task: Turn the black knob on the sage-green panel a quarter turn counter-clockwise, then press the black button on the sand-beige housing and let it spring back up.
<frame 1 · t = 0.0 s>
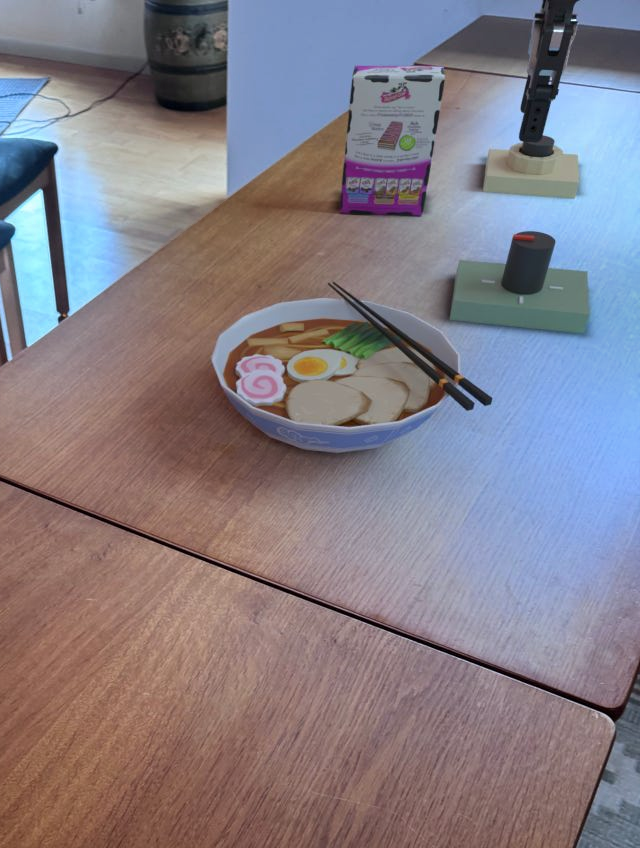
hand: (529, 126, 94), 17 cm above the table, tool pointing down, fingers open, 8 cm apart
candy bar box: (379, 209, 122), on the table
ramen bowl: (326, 426, 89), on the table
panel: (514, 311, 102), on the table
housing: (528, 181, 127), on the table
button: (537, 147, 123), point 4 cm above the table, slide at 0.1 cm
knob: (528, 261, 98), point 6 cm above the table, hinge at 0.0°
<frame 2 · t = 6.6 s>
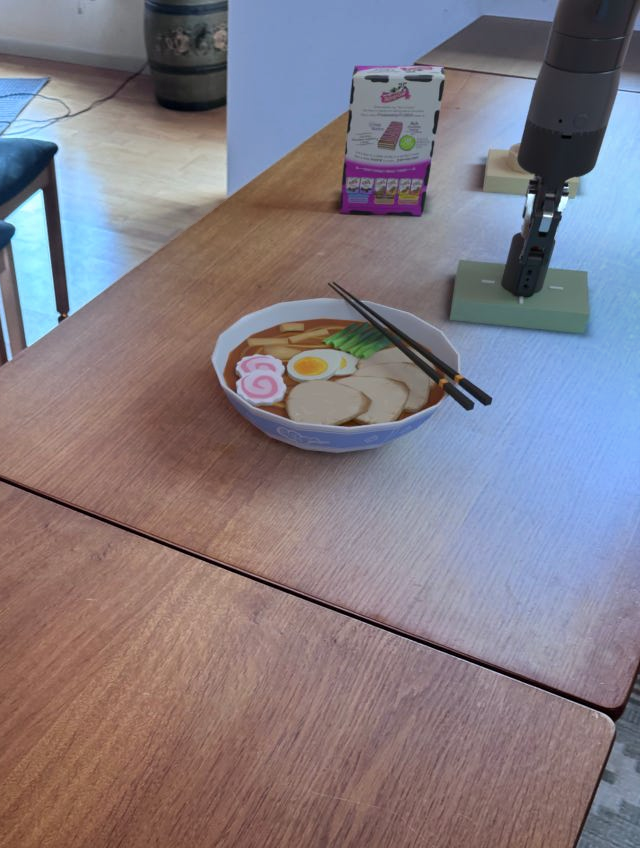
hand: (523, 281, 100), 3 cm above the table, tool pointing down, fingers open, 5 cm apart
knob: (528, 261, 98), point 6 cm above the table, hinge at 93.8°
everything else where it was.
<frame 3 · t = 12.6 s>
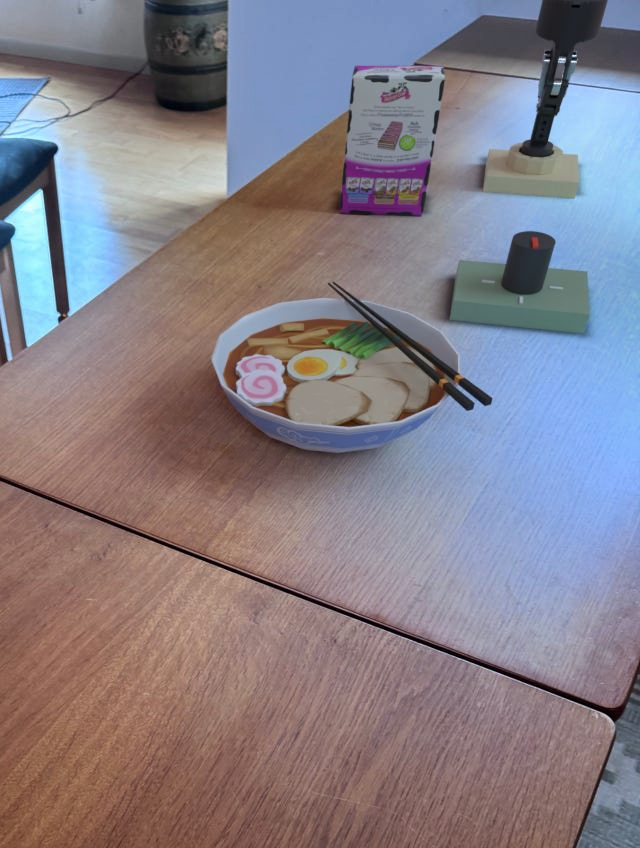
hand: (538, 143, 123), 5 cm above the table, tool pointing down, fingers closed
button: (536, 151, 124), point 4 cm above the table, slide at -0.4 cm, touching gripper
everything else where it was.
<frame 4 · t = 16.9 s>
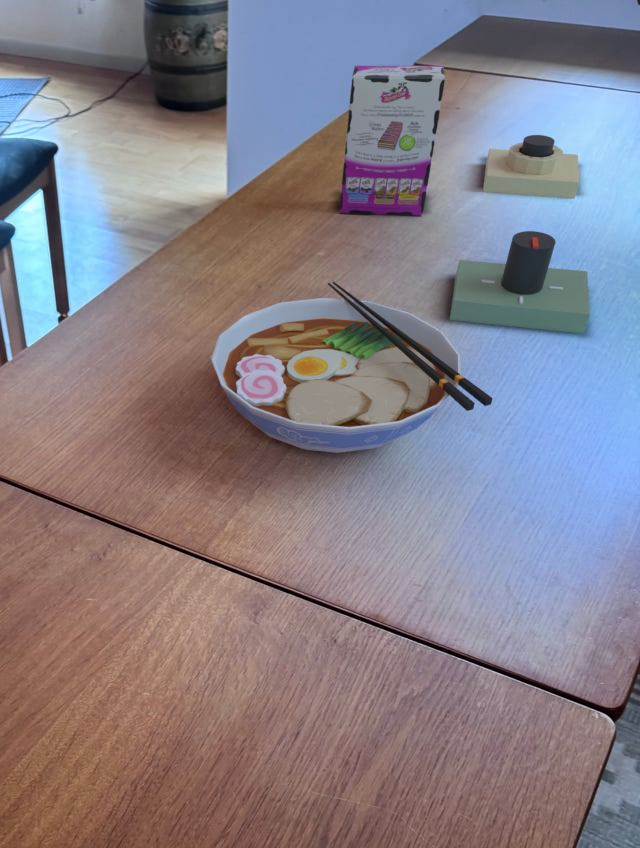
button: (537, 147, 123), point 4 cm above the table, slide at 0.1 cm
everything else where it was.
at the end: knob at +94° (first picture: +0°); button pushed in 1.0 cm at the most during the clip, back to where it started at the end; button slide at 0.1 cm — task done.
